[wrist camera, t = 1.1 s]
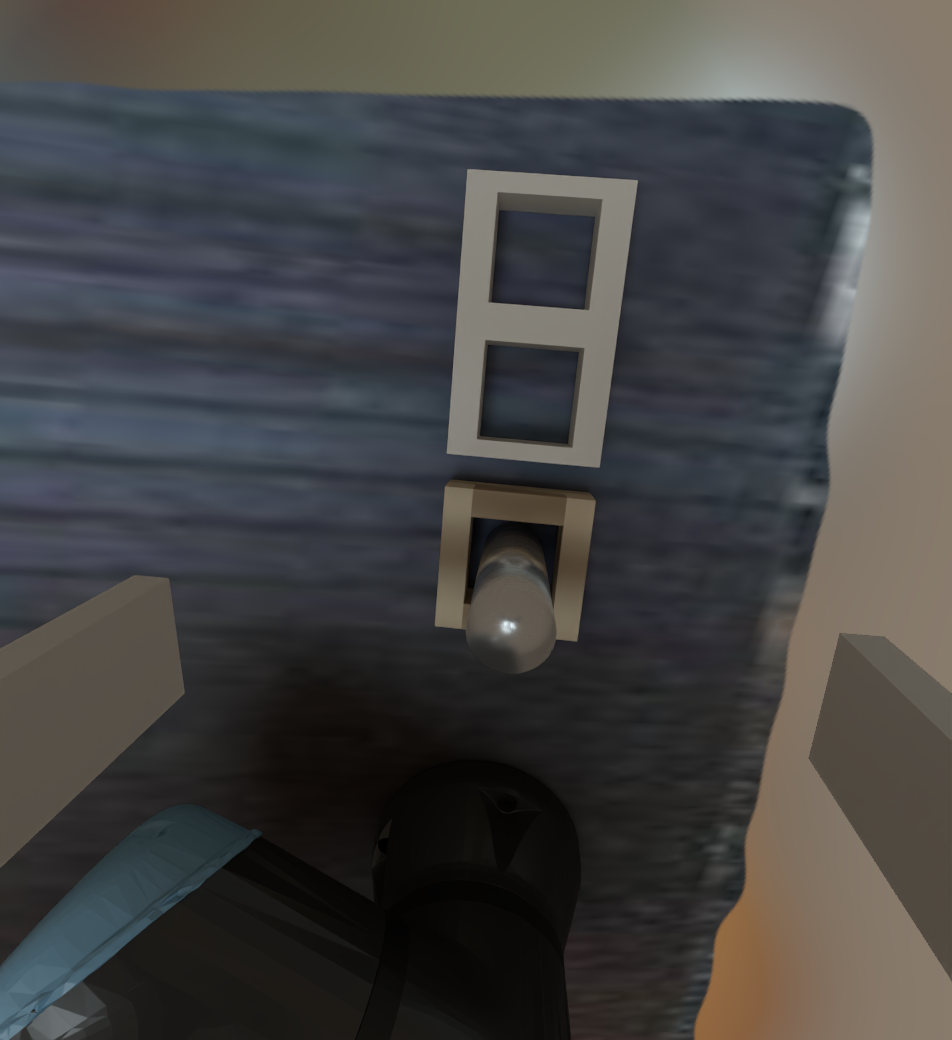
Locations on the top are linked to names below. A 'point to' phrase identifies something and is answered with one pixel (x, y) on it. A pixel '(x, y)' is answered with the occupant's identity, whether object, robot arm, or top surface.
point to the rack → (539, 309)
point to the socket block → (522, 506)
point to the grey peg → (511, 603)
